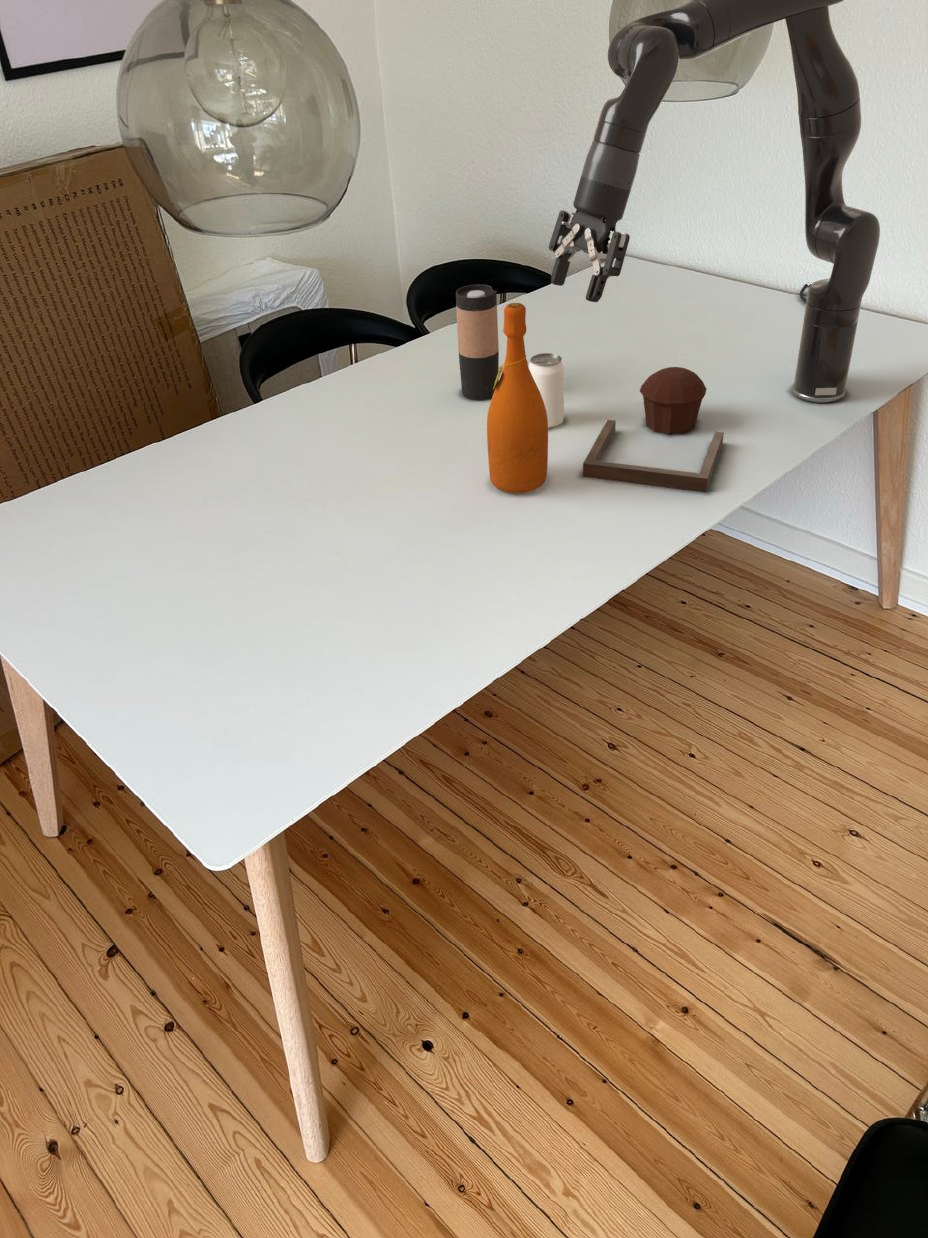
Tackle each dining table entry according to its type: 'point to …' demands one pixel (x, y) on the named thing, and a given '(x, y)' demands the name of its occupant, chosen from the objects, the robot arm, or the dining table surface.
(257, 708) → the dining table surface
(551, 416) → the can
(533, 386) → the wine bottle
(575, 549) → the dining table surface
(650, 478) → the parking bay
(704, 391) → the muffin
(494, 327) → the travel mug
